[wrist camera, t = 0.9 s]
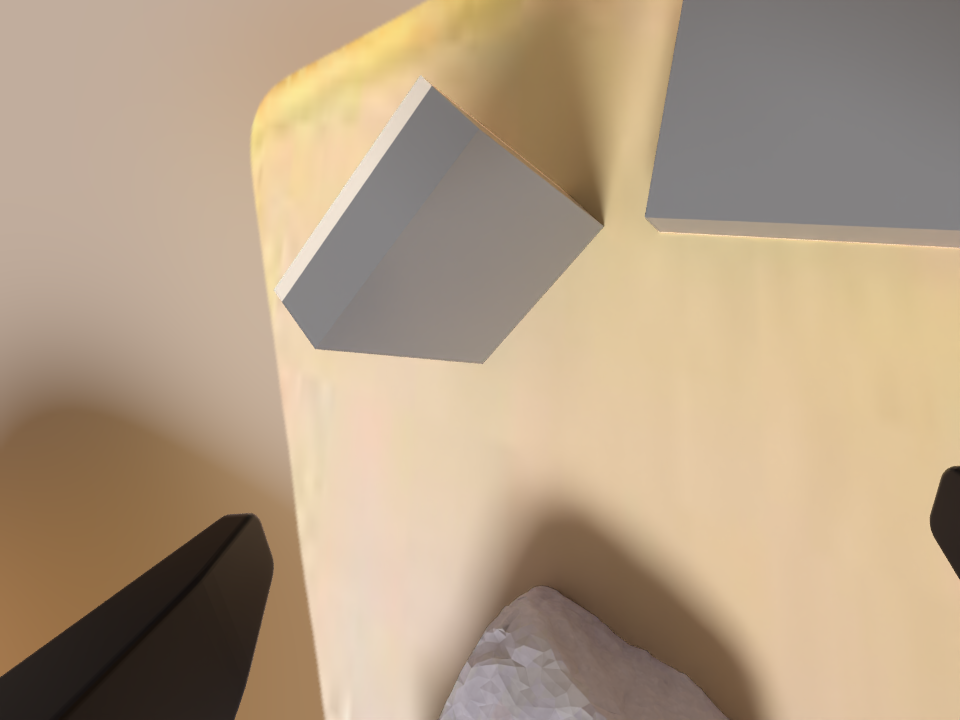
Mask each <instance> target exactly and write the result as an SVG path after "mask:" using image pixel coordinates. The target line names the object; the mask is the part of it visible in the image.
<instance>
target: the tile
mask: <svg viewBox="0 0 960 720" xmlns="http://www.w3.org/2000/svg"><path fill="white" fill-rule="evenodd" d="M603 227H604V226H603V225H602V224H601V223H600V222H599V221H597V220H596V219H595V218H594V217H593V216H592V215H591V214H590V213H588V212H587V211H586V210H585V209H584V208H583V207H582V206H581V205H580V204H578V203H577V202H576V201H575V200H574V199H573V198H572V197H571V196H570V195H568V194H567V193H566V192H565V191H564V190H563V189H562V188H561V187H559V186H558V185H557V184H556V183H554V182H553V181H552V180H551V179H549V178H548V177H547V176H546V175H544V174H543V173H542V172H541V171H539V170H538V169H537V168H536V167H534V166H533V165H532V164H531V163H529V162H528V161H527V160H526V159H525V158H523V157H522V156H521V155H520V154H518V153H517V152H516V151H515V150H513V149H512V148H511V147H510V146H508V145H507V144H506V143H505V142H503V141H502V140H501V139H500V138H498V137H497V136H496V135H495V134H493V133H492V132H491V131H490V130H488V129H487V128H486V127H485V126H483V125H482V124H481V123H480V122H478V121H477V120H476V119H475V118H473V117H472V116H471V115H470V114H468V113H467V112H466V111H465V110H463V109H462V108H461V107H460V106H458V105H457V104H456V103H455V102H453V101H452V100H451V99H450V98H448V97H447V96H446V95H445V94H443V93H442V92H441V91H440V90H438V89H437V88H436V87H435V86H433V85H432V84H431V83H430V82H429V81H427V80H426V79H425V78H424V77H422V76H421V75H420V76H419V78H418V79H417V81H416V82H415V84H414V85H413V87H412V88H411V89H410V91H409V92H408V94H407V95H406V97H405V98H404V100H403V101H402V103H401V104H400V106H399V107H398V109H397V110H396V111H395V113H394V114H393V116H392V117H391V119H390V120H389V122H388V123H387V125H386V126H385V128H384V129H383V130H382V132H381V133H380V135H379V136H378V138H377V139H376V141H375V142H374V144H373V145H372V147H371V148H370V150H369V151H368V152H367V154H366V155H365V157H364V158H363V160H362V161H361V163H360V164H359V166H358V167H357V169H356V170H355V172H354V173H353V174H352V176H351V177H350V179H349V180H348V182H347V183H346V185H345V186H344V188H343V189H342V191H341V192H340V194H339V195H338V196H337V198H336V199H335V201H334V202H333V204H332V205H331V207H330V208H329V210H328V211H327V213H326V214H325V215H324V217H323V218H322V220H321V221H320V223H319V224H318V226H317V227H316V229H315V230H314V232H313V233H312V235H311V236H310V237H309V239H308V240H307V242H306V243H305V245H304V246H303V248H302V249H301V251H300V252H299V254H298V255H297V257H296V258H295V259H294V261H293V262H292V264H291V265H290V267H289V268H288V270H287V271H286V273H285V274H284V276H283V277H282V278H281V280H280V281H279V283H278V284H277V286H276V287H275V289H274V291H275V293H276V294H277V296H278V297H279V298H280V300H281V301H282V303H283V304H284V305H285V307H286V308H287V310H288V311H289V313H290V314H291V315H292V317H293V318H294V320H295V321H296V322H297V324H298V325H299V327H300V328H301V329H302V331H303V332H304V334H305V335H306V337H307V338H308V339H309V341H310V342H311V344H312V345H313V346H314V348H315V349H322V350H333V351H344V352H355V353H367V354H378V355H389V356H400V357H411V358H423V359H434V360H445V361H456V362H468V363H479V364H483V363H484V362H485V361H486V359H487V358H488V357H489V356H490V355H491V354H492V353H493V352H494V350H495V349H496V348H497V347H498V346H499V345H500V344H501V343H502V341H503V340H504V339H505V338H506V337H507V336H508V335H509V333H510V332H511V331H512V330H513V329H514V328H515V327H516V326H517V324H518V323H519V322H520V321H521V320H522V319H523V318H524V316H525V315H526V314H527V313H528V312H529V311H530V310H531V309H532V307H533V306H534V305H535V304H536V303H537V302H538V301H539V299H540V298H541V297H542V296H543V295H544V294H545V293H546V292H547V290H548V289H549V288H550V287H551V286H552V285H553V284H554V283H555V281H556V280H557V279H558V278H559V277H560V276H561V275H562V273H563V272H564V271H565V270H566V269H567V268H568V267H569V266H570V264H571V263H572V262H573V261H574V260H575V259H576V258H577V256H578V255H579V254H580V253H581V252H582V251H583V250H584V249H585V247H586V246H587V245H588V244H589V243H590V242H591V241H592V239H593V238H594V237H595V236H596V235H597V234H598V233H599V232H600V230H601V229H602V228H603Z"/></svg>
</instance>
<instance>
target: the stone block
mask: <svg viewBox="0 0 960 720" xmlns="http://www.w3.org/2000/svg"><path fill="white" fill-rule="evenodd" d="M438 720H730V719H728V718H727V717H726V716H725V715H724V714H723V713H722V712H721V711H720V710H719V709H718V708H717V707H716V706H715V705H714V703H713V702H712V701H711V700H710V699H709V698H708V697H707V695H706V694H705V693H704V692H703V690H702V689H701V688H700V687H698V686H697V685H696V684H695V683H694V682H693V681H692V680H691V679H690V678H689V677H688V676H687V675H685V674H684V673H681V672H679V671H677V670H675V669H674V668H672V667H670V666H668V665H666V664H664V663H663V662H661V661H659V660H658V659H656V658H654V657H652V656H651V655H650V653H649V652H648V651H646V650H643V649H640V648H637V647H634V646H631V645H629V644H627V643H626V642H625V641H623V640H622V639H621V638H620V637H619V636H617V635H616V634H614V633H613V632H612V631H611V630H610V629H609V628H608V626H607V625H606V624H604V623H602V622H601V621H600V620H599V619H598V618H597V617H596V616H595V615H593V614H592V613H590V612H588V611H587V610H585V609H584V608H582V607H581V606H579V605H578V604H576V603H575V602H573V601H571V600H570V599H568V598H566V597H565V596H563V595H562V594H561V593H560V592H558V591H557V590H555V589H552V588H550V587H547V586H536V587H534V588H532V589H530V590H529V591H528V592H527V593H524V594H522V595H520V596H519V597H518V598H516V599H515V600H514V601H513V602H512V603H511V604H510V605H509V606H505V607H504V608H503V609H502V611H501V612H500V614H499V615H498V616H497V617H496V618H495V619H494V620H493V621H492V622H491V623H490V624H489V625H488V626H487V628H486V630H485V632H484V634H483V635H482V637H481V639H480V640H479V642H478V644H477V646H476V647H475V649H474V650H473V652H472V653H471V655H470V657H469V658H468V660H467V662H466V663H465V665H464V667H463V669H462V670H461V672H460V674H459V676H458V679H457V681H456V683H455V685H454V688H453V690H452V692H451V694H450V696H449V698H448V699H447V701H446V703H445V705H444V708H443V710H442V712H441V715H440V717H439V719H438Z"/></svg>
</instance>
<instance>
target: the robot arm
mask: <svg viewBox="0 0 960 720" xmlns="http://www.w3.org/2000/svg"><path fill="white" fill-rule="evenodd" d="M930 527H931V531H932V533H933V536H934V538H935V540H936V541H937V543H938V545H939V546H940V548H941V550H942V551H943V553H944V554H945V556H946V558H947V559H948V561H949V563H950V564H951V566H952V568H953V569H954V571H955V573H956V574H957V576H958V578H959V579H960V466H953V467H950V468H948V469H947V470H946V471H945V472H944V473H943V474H942V477H941V480H940V483H939V487H938V490H937V494H936V497H935V500H934V504H933V507H932V511H931V514H930ZM273 570H274V563H273V558H272V554H271V551H270V548H269V545H268V542H267V539H266V536H265V533H264V530H263V527H262V524H261V521H260V519H259V518H258V517H257V516H256V515H255V514H252V513H246V514H230V515H226V516H223V517H222V518H221V519H219V520H218V521H216V522H215V523H213V524H212V525H210V526H209V527H208V528H206V529H205V530H204V531H202V532H201V533H199V534H198V535H197V536H195V537H194V538H192V539H191V540H190V541H188V542H187V543H186V544H184V545H183V546H181V547H180V548H179V549H177V550H176V551H174V552H173V553H172V554H170V555H169V556H168V557H166V558H165V559H163V560H162V561H161V562H159V563H158V564H156V565H155V566H154V567H152V568H151V569H150V570H148V571H147V572H145V573H144V574H143V575H141V576H140V577H138V578H137V579H136V580H134V581H133V582H131V583H130V584H129V585H127V586H126V587H125V588H123V589H122V590H120V591H119V592H118V593H116V594H115V595H113V596H112V597H111V598H110V599H108V600H107V601H105V602H104V603H102V604H101V605H100V606H98V607H97V608H96V609H94V610H93V611H91V612H90V613H89V614H87V615H86V616H84V617H83V618H82V619H80V620H79V621H77V622H76V623H75V624H73V625H72V626H71V627H69V628H68V629H66V630H65V631H64V632H62V633H61V634H59V635H58V636H57V637H55V638H54V639H52V640H51V641H50V642H49V643H47V644H46V645H44V646H43V647H41V648H40V649H39V650H37V651H36V652H34V653H33V654H32V655H30V656H29V657H27V658H26V659H25V660H23V661H22V662H21V663H19V664H18V665H16V666H15V667H14V668H12V669H11V670H9V671H8V672H7V673H5V674H4V675H3V676H1V677H0V720H234V719H235V716H236V713H237V711H238V708H239V705H240V702H241V699H242V696H243V693H244V689H245V687H246V683H247V679H248V676H249V672H250V668H251V664H252V660H253V656H254V652H255V648H256V644H257V640H258V635H259V631H260V627H261V623H262V619H263V614H264V610H265V606H266V602H267V598H268V594H269V589H270V586H271V582H272V577H273Z"/></svg>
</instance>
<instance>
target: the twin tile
mask: <svg viewBox="0 0 960 720" xmlns="http://www.w3.org/2000/svg"><path fill="white" fill-rule="evenodd" d="M645 218H646V219H647V220H648V221H649V222H650V223H651V224H652V225H653V226H654V227H655V228H656V229H657V230H658V231H659V232H664V233H683V234H702V235H721V236H739V237H758V238H777V239H796V240H815V241H833V242H852V243H871V244H890V245H909V246H927V247H946V248H960V0H683V4H682V10H681V16H680V21H679V27H678V33H677V38H676V44H675V49H674V55H673V61H672V66H671V72H670V78H669V83H668V89H667V95H666V100H665V106H664V112H663V117H662V123H661V128H660V134H659V140H658V145H657V151H656V157H655V162H654V168H653V174H652V179H651V185H650V191H649V196H648V202H647V207H646V213H645Z"/></svg>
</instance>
